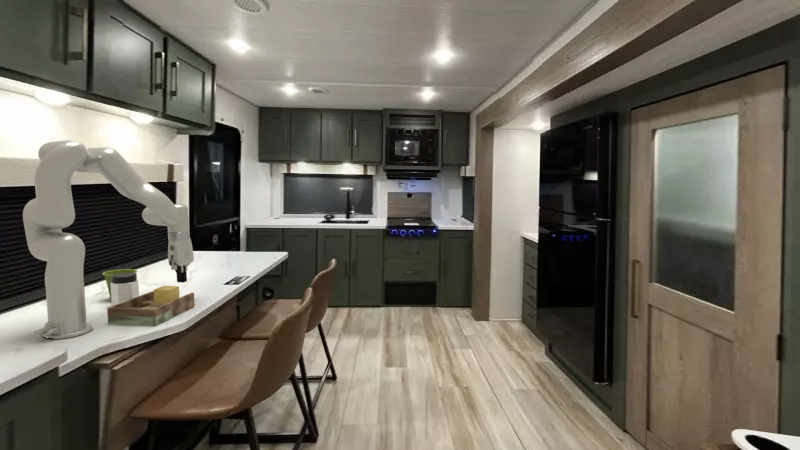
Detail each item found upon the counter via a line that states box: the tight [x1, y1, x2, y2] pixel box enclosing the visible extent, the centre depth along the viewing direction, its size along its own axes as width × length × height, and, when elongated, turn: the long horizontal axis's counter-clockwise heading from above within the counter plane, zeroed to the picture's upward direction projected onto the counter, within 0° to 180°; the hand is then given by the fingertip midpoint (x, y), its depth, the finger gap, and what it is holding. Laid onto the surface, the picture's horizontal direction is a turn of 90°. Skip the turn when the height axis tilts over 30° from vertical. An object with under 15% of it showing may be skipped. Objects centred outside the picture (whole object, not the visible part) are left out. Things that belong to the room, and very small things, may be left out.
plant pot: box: [102, 268, 138, 300], centre depth 174 cm, size 12×12×11 cm
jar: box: [110, 272, 140, 306], centre depth 165 cm, size 9×8×12 cm
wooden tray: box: [106, 290, 195, 327], centre depth 154 cm, size 22×17×6 cm
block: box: [153, 285, 180, 303], centre depth 161 cm, size 6×6×5 cm
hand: (182, 281), depth 170 cm, fingers closed
